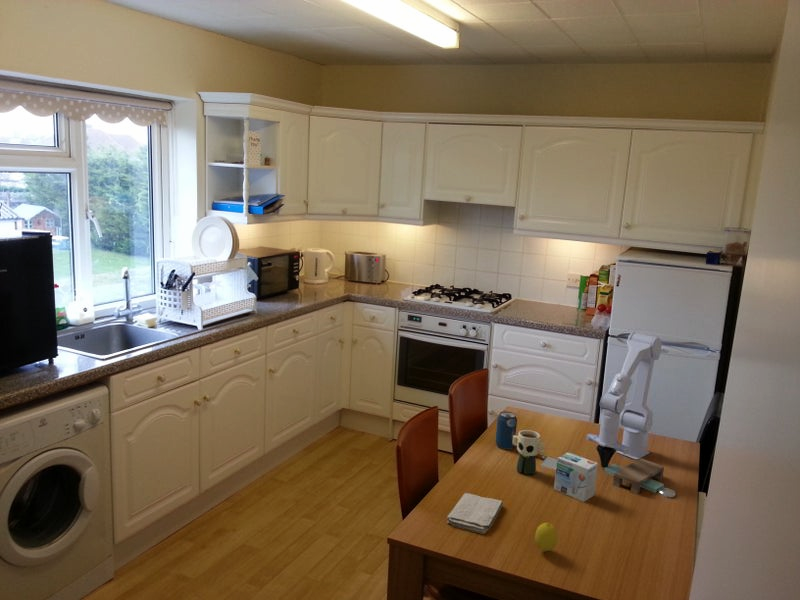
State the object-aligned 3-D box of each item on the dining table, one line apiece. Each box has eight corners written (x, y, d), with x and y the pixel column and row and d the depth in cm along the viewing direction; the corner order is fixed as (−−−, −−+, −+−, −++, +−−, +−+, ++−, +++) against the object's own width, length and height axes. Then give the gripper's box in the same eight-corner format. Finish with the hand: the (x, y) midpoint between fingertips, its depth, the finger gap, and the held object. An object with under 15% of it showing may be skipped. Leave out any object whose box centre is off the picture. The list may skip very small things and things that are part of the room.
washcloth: (444, 526, 180) (445, 516, 179) (463, 498, 196) (464, 488, 196) (487, 537, 175) (488, 526, 175) (502, 507, 192) (503, 497, 191)
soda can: (516, 450, 231) (519, 418, 229) (496, 449, 231) (499, 417, 229) (513, 442, 238) (516, 411, 236) (493, 441, 238) (496, 410, 236)
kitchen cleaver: (512, 457, 225) (524, 446, 233) (511, 460, 225) (523, 449, 233) (581, 479, 211) (591, 467, 219) (581, 482, 212) (591, 470, 220)
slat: (612, 468, 222) (613, 463, 222) (663, 489, 209) (664, 484, 209) (603, 473, 219) (604, 468, 218) (655, 494, 206) (655, 489, 205)
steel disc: (662, 489, 209) (662, 486, 208) (677, 495, 205) (678, 492, 205) (654, 494, 205) (655, 490, 205) (670, 500, 202) (670, 496, 201)
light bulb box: (552, 489, 204) (556, 457, 202) (563, 483, 209) (567, 451, 207) (584, 502, 197) (588, 469, 195) (594, 495, 202) (599, 462, 199)
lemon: (531, 545, 172) (534, 517, 170) (551, 545, 172) (554, 517, 171) (537, 557, 167) (540, 528, 165) (558, 557, 167) (561, 529, 165)
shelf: (639, 469, 222) (641, 458, 221) (662, 478, 216) (664, 466, 215) (613, 484, 209) (614, 472, 209) (636, 494, 204) (638, 482, 203)
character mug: (506, 470, 215) (509, 433, 212) (514, 463, 221) (517, 426, 218) (538, 480, 210) (542, 441, 207) (545, 472, 216) (549, 434, 213)
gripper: (583, 424, 220) (579, 462, 222) (623, 438, 210) (618, 478, 212) (594, 419, 225) (589, 456, 227) (634, 433, 214) (629, 472, 217)
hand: (604, 466), depth 220 cm, fingers closed
